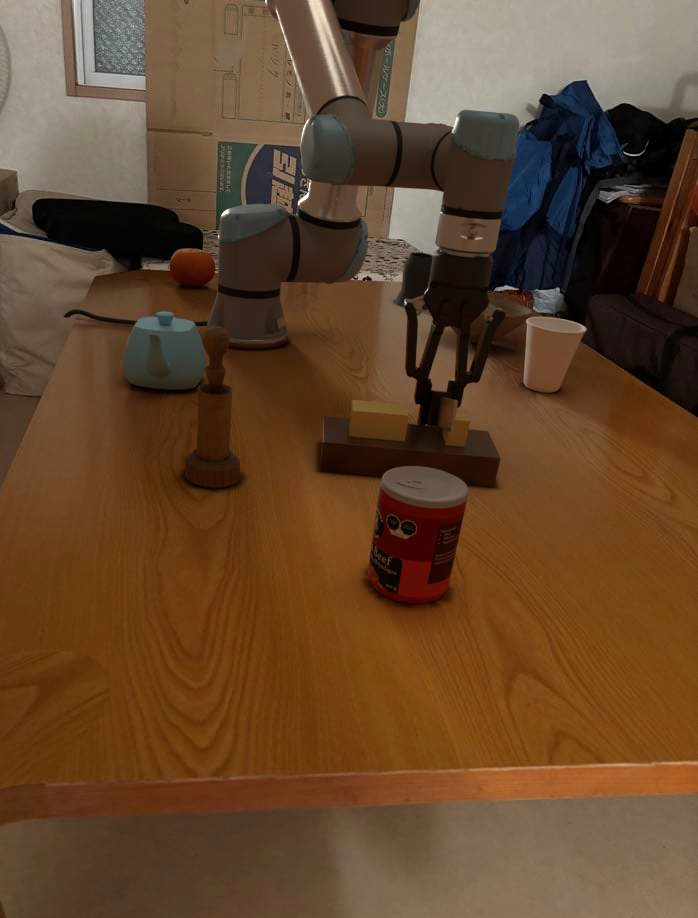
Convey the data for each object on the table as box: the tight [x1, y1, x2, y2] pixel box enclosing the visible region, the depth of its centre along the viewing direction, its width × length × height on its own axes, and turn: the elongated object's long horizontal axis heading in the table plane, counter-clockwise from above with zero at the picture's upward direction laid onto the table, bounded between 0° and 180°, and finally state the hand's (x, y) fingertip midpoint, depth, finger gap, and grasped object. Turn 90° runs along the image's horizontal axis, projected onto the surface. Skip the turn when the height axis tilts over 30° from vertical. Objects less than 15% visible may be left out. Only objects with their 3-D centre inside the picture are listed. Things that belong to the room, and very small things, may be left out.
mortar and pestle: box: [184, 327, 241, 489], centre depth 89 cm, size 7×6×18 cm
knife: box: [425, 389, 458, 432], centre depth 102 cm, size 19×3×5 cm, turn 177°
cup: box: [522, 316, 588, 393], centre depth 132 cm, size 10×10×11 cm
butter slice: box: [443, 408, 471, 447], centre depth 98 cm, size 2×4×4 cm, turn 177°
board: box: [319, 415, 501, 488], centre depth 100 cm, size 22×9×4 cm, turn 87°
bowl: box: [449, 297, 533, 344], centre depth 156 cm, size 18×18×8 cm
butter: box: [349, 399, 410, 441], centre depth 98 cm, size 7×4×4 cm, turn 87°
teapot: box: [122, 310, 207, 391], centre depth 119 cm, size 13×11×18 cm
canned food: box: [367, 466, 469, 604], centre depth 73 cm, size 8×8×11 cm
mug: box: [395, 251, 433, 310], centre depth 183 cm, size 12×9×11 cm
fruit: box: [169, 247, 216, 287], centre depth 181 cm, size 11×10×8 cm
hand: (432, 426), depth 109 cm, fingers closed on knife, 3 cm apart
